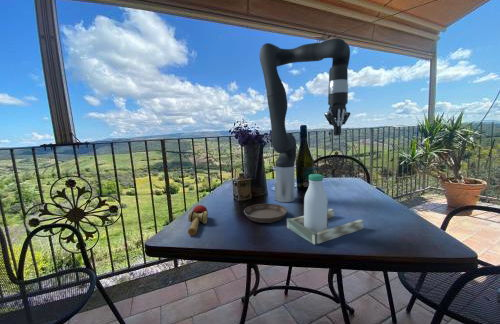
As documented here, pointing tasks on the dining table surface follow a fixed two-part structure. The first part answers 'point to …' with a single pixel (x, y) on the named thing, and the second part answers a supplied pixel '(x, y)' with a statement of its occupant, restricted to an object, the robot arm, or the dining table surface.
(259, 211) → the plant saucer
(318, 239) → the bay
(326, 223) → the milk bottle
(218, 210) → the dining table surface
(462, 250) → the dining table surface
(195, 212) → the kendama
